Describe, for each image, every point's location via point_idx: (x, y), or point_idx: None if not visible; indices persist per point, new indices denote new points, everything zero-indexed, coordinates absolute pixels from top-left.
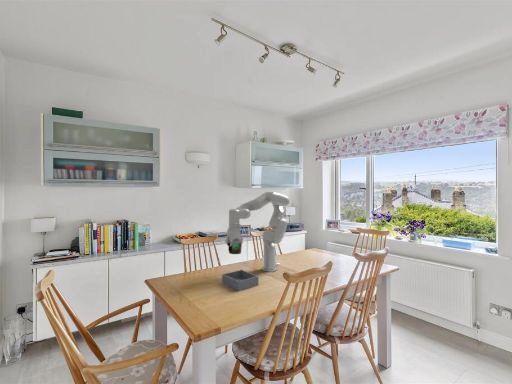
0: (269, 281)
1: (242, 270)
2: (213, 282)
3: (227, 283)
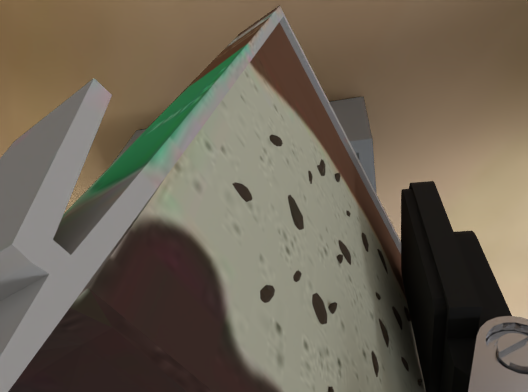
0: (505, 277)
1: (366, 166)
2: (62, 69)
3: None
